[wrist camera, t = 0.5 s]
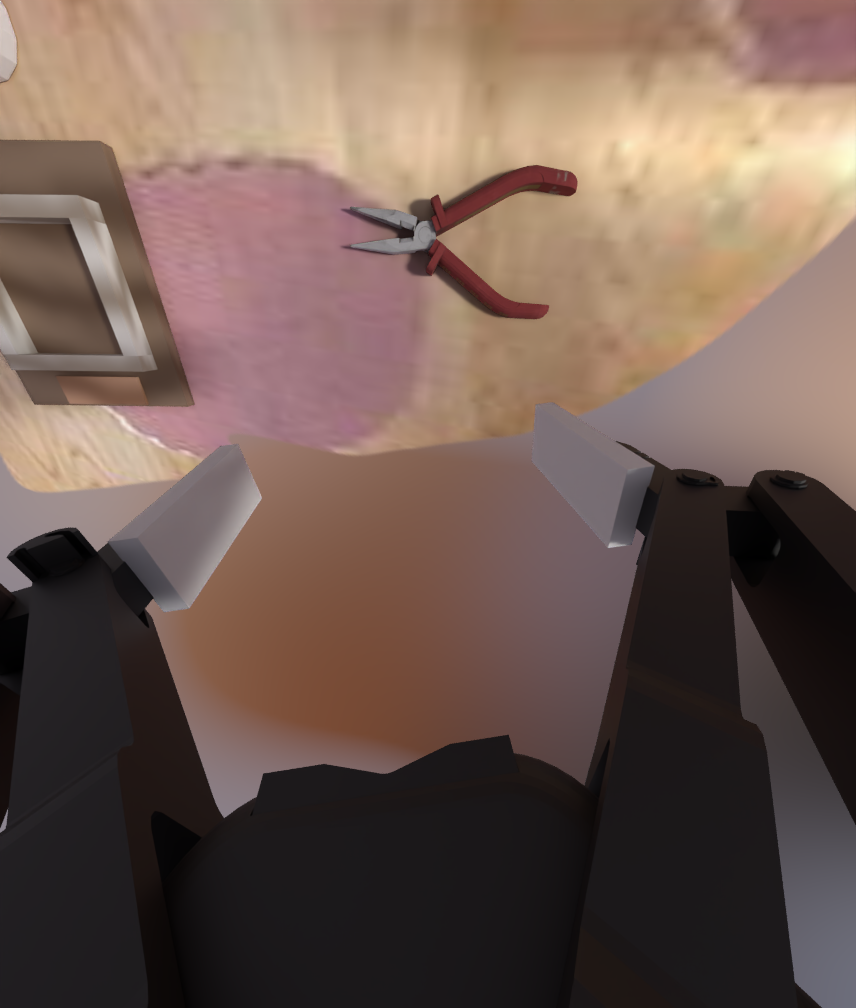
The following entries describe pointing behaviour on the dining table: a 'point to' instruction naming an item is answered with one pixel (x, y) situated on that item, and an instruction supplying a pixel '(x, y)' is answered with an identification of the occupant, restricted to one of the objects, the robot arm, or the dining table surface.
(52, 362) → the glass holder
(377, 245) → the pliers
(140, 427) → the dining table surface
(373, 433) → the dining table surface
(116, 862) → the robot arm
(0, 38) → the white cup
